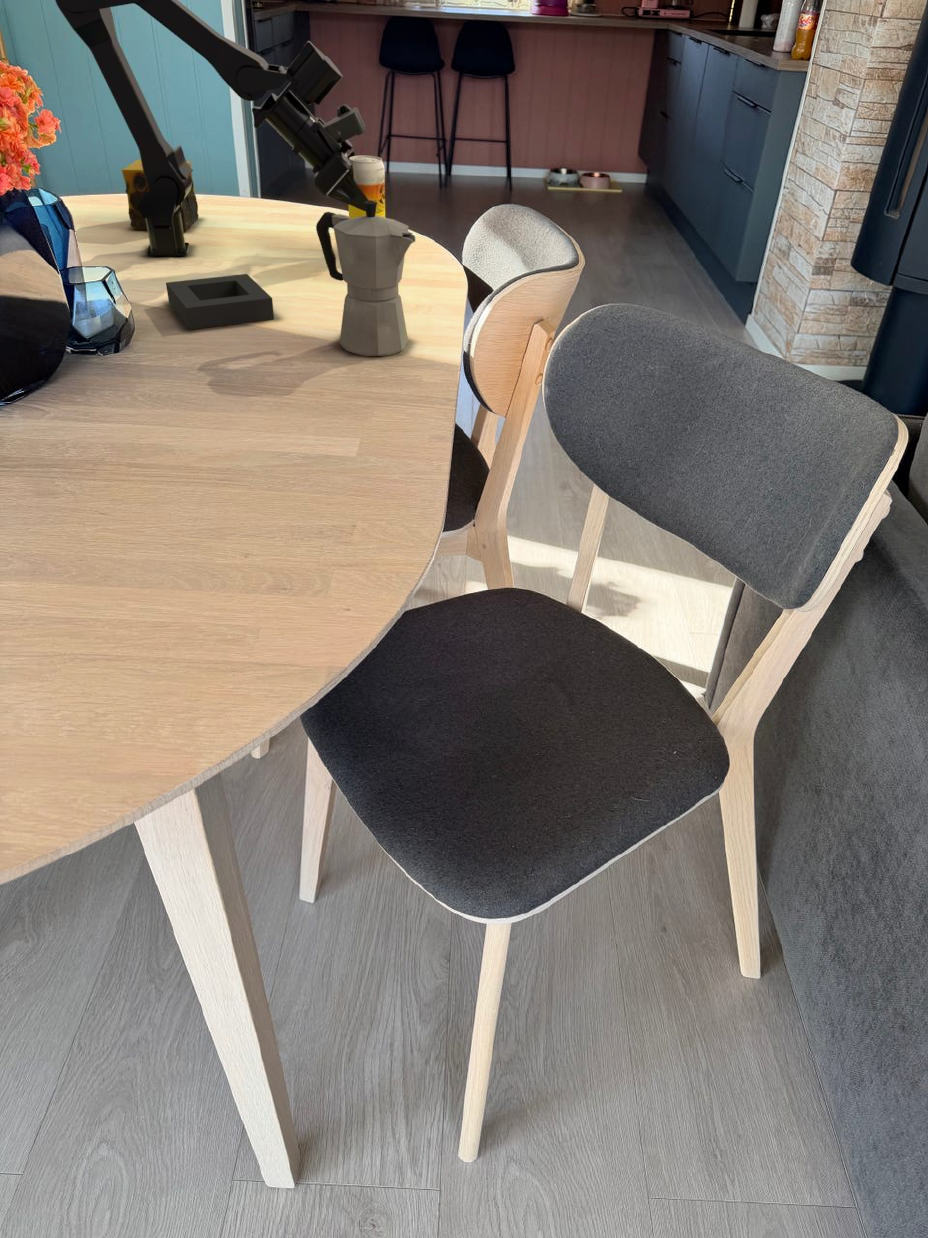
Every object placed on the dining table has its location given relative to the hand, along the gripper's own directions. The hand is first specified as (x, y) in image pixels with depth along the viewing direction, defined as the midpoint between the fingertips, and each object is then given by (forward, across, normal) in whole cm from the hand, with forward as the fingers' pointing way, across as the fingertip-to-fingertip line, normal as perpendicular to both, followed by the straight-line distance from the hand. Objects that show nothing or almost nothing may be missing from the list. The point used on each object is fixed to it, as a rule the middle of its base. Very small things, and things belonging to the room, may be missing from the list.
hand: (371, 203), depth 150 cm
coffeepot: (+5, -42, +6) cm, 43 cm away
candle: (-21, +18, +33) cm, 43 cm away
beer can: (+5, 0, +6) cm, 8 cm away
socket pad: (-10, -30, +21) cm, 38 cm away
